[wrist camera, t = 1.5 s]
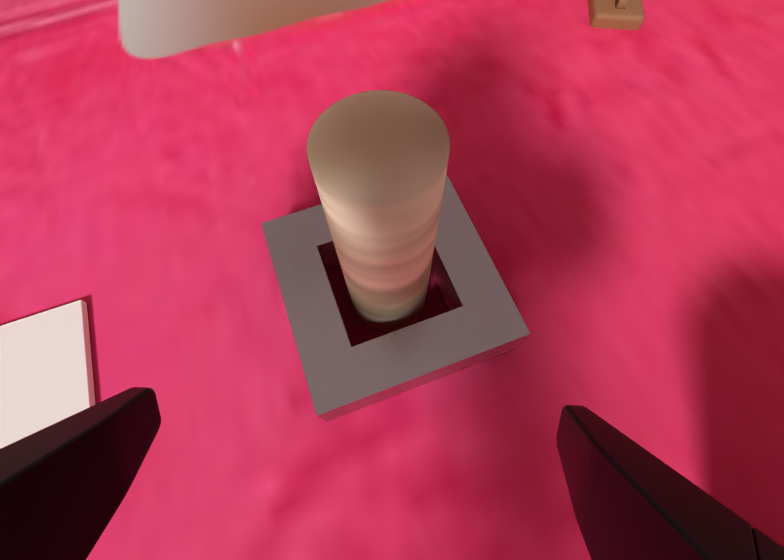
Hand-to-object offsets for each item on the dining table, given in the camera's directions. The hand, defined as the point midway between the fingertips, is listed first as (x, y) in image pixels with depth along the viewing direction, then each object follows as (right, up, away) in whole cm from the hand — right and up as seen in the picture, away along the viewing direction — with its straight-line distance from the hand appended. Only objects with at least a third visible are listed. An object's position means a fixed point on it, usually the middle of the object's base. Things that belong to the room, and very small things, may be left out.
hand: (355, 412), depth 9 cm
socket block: (+1, +2, +16) cm, 16 cm away
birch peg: (+1, +2, +16) cm, 16 cm away
